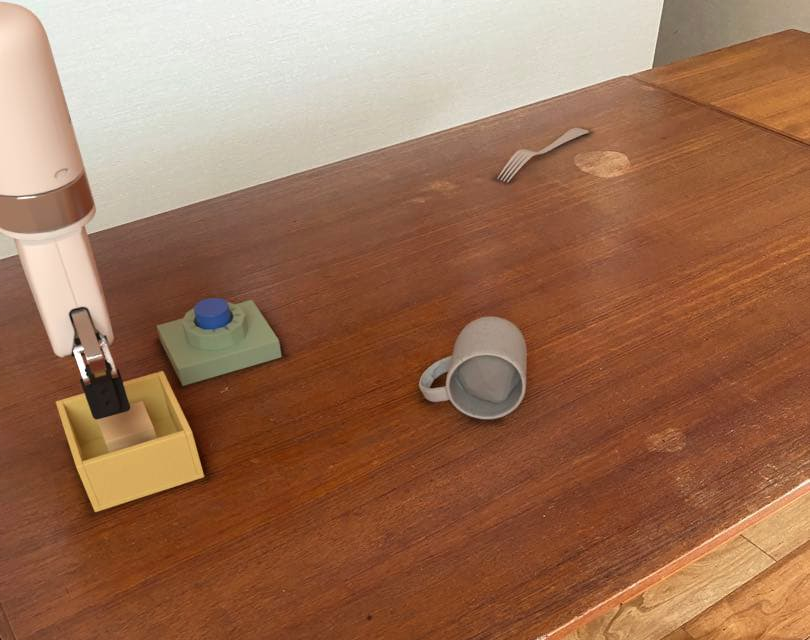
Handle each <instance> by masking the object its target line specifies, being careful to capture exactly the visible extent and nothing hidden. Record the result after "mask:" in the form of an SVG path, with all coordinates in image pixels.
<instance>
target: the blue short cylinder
mask: <svg viewBox="0 0 810 640" xmlns="http://www.w3.org/2000/svg"><path fill="white" fill-rule="evenodd" d="M227 302H228V301H227V300H225V299H223V298H220V297H209V298H204V299H202V300H200V301H198V302H197V303H196V304H195V305H194V306H193V308H194V312H195V317H196V321H197V325H198V326H199V327H200V328H202V329H212V330H214V329H218V328H221V327H225V326H226V325H227V324H229V323H230V322H231V315H230V310H229V305H228V303H227Z"/></svg>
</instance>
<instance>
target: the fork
mask: <svg viewBox="0 0 810 640" xmlns="http://www.w3.org/2000/svg"><path fill="white" fill-rule="evenodd" d="M589 133H590V131H589V130H588V129H584V128H581V127H573V128H570V129H569V130H567V131H566V132H565V133H564V134H562V135H560V137H559V138H557V139H556V140H555V141H553V142H552V143H551V144H549V145H547V146H545V147H544V148H542V149H541V150H538V151H534V150H530V149H526V148H520V149H518V150H517V151H516V152H515V153H514V154H513V155H512V156H511V157H510V158H509V160H508V162H507V163H506V164H505V166H504V167H503V169H501V172H500V173H499V175H498V176H497V178H496V179H497V180H499V178H500V177H501V176H502V177H501V179H500V181H503V182H505V181H506V180H507V181H506V183H509V181H510V180H512V178H513V177H514V176H515V175H516V173H518V171H520V169H521V168H522V167H523V166H524V165H525V164H526V163H527V162H528V161H529V160H530V159H531V158H532V157H534V156H539V155H543V154H546V153H549V152H550V151H552V150H553V149H555V148H557V147H559V146H561V145H563V144H566V143H567V142H569V141H571V140H574V139H576V138H579V137H581V136H583V135H587V134H589ZM506 169H507V170H506ZM509 176H510V177H509Z"/></svg>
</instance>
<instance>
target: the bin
mask: <svg viewBox="0 0 810 640" xmlns="http://www.w3.org/2000/svg"><path fill="white" fill-rule="evenodd" d="M123 385H124V388H125V391H126V395H127V398H128V401H129V404H133V403H137V402H140V401H143V403H144V406H145V408H146V410H147V413H148V415H149V417H150V420H151V422H152V424H153V427H154V429H155V433H156V436H157V439H154V440H150V441H147V442H144V443H141V444H137V445H134V446H131V447H128V448H124V449H121V450H118V451H114V452H111V453H109V451H108V448H107V445H106V443H105V440H104V437H103V434H102V432H101V429H100V426H99V423H98V421H97V419H94V418H93V416H92V413H91V411H90V408H89V405H88V402H87V399H86V396H85V393H81V394H80V393H79V394H76V395H73V396H70V397H65V398H63V399H60V400H56V401H55V405H56V409H57V411H58V414H59V418H60V421H61V424H62V426H63V430H64V433H65V436H66V439H67V442H68V446H69V449H70V452H71V456H72V458H73V461H74V465H75V468H76V470H77V472H78V473H77V474H78V475H79V478H80V480H81V482H82V485H83V487H84V489H85V492H86V494H87V497H88V499H89V502H90V505H91V506H92V508H93V511H94V513H97V512H100V511H103V510H107V509H110V508H112V507H116V506H120V505H122V504H126V503H128V502H131V501H134V500H138V499H141V498H144V497H147V496H150V495H153V494H156V493H159V492H162V491H166V490H168V489H173V488H174V487H177V486H181V485H184V484H187V483H191V482H194V481H196V480H199V479H203V478H205V474H204V471H203V466H202V463H201V459H200V456H199V455H200V454H199V452H198V448H197V443H196V440H195V437H194V432H193V430H192V429H191V427H190V425H189V422H188V420H187V418H186V416H185V414H184V412H183V409H182V408H181V405H180V404H179V401H178V399H177V396H176V395H175V393H174V391H173V389H172V386H171V384H170V382H169V380H168V377H167V375H166V373H165V372H164V371H163V370H161V371H158V372H153V373H150V374H147V375H143V376H139V377H136V378H132V379H129V380H126V381H123Z"/></svg>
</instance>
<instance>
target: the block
mask: <svg viewBox="0 0 810 640" xmlns="http://www.w3.org/2000/svg"><path fill="white" fill-rule="evenodd" d="M97 421H98V423H99V426H100V429H101V432H102V434H103V437H104V440H105V443H106V445H107V448H108V451H109V453H111V452H114V451H118V450H121V449H124V448H128V447H131V446H134V445H137V444H141V443H144V442H147V441H150V440H154V439H157V436H156V433H155V429H154V427H153V424H152V422H151V420H150V417H149V415H148V413H147V410H146V408H145V406H144V403H143V401H140V402H137V403H133V404H130V410H129V411H127V412H123V413H120V414H116V415H112V416H109V417H105V418H101V419H97Z"/></svg>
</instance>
